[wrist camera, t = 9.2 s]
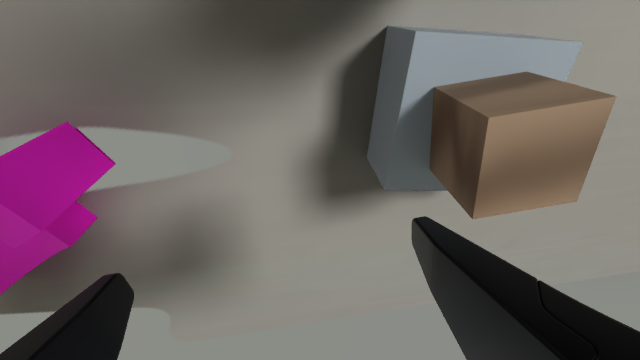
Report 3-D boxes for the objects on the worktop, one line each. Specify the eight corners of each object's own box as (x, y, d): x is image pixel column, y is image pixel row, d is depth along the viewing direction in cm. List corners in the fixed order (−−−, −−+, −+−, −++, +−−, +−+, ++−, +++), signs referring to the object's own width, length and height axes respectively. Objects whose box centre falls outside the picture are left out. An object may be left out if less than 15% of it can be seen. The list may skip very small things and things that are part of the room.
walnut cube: (433, 87, 16) (488, 117, 11) (526, 71, 16) (616, 96, 11) (429, 168, 18) (472, 219, 14) (509, 155, 18) (576, 201, 14)
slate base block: (385, 25, 19) (416, 30, 14) (518, 34, 20) (583, 42, 15) (365, 156, 23) (384, 190, 19) (474, 157, 24) (515, 190, 20)
